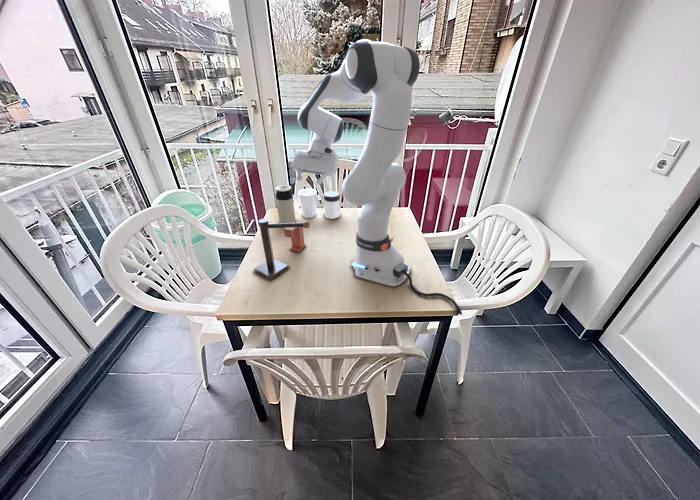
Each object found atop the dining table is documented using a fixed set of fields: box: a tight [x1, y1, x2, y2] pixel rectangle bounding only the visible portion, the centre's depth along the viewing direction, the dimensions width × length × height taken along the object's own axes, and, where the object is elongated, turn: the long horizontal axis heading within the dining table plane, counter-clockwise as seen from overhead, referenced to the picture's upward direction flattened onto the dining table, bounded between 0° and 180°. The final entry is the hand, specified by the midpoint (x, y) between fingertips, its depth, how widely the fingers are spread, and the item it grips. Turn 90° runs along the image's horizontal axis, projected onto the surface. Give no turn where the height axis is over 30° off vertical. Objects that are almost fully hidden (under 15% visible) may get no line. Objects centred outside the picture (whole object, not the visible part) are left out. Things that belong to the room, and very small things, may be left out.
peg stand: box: [253, 218, 311, 281], centre depth 104 cm, size 22×13×21 cm, turn 95°
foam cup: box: [297, 188, 318, 219], centre depth 147 cm, size 10×9×13 cm
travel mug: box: [274, 184, 296, 223], centre depth 139 cm, size 8×8×18 cm
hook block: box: [283, 221, 306, 253], centre depth 118 cm, size 8×4×12 cm, turn 157°
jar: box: [323, 190, 341, 220], centre depth 147 cm, size 9×8×12 cm
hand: (308, 181), depth 119 cm, fingers open, 8 cm apart
